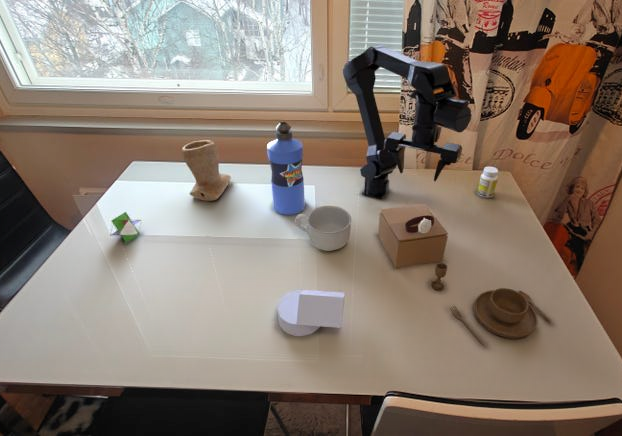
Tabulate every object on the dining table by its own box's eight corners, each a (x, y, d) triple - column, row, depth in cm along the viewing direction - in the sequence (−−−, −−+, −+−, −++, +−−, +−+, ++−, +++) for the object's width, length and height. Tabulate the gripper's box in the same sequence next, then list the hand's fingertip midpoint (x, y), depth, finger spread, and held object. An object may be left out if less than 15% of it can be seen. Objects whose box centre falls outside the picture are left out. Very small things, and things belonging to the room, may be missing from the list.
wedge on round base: (344, 304, 81) (283, 299, 82) (345, 280, 77) (281, 276, 78) (341, 339, 74) (274, 334, 75) (341, 315, 70) (271, 310, 71)
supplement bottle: (491, 190, 120) (497, 166, 115) (494, 198, 116) (501, 173, 111) (475, 189, 120) (481, 165, 116) (478, 197, 117) (484, 172, 112)
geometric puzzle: (100, 232, 98) (105, 216, 92) (123, 218, 103) (129, 202, 97) (122, 252, 98) (128, 237, 93) (143, 237, 103) (150, 222, 98)
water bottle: (311, 208, 111) (308, 125, 97) (282, 218, 107) (274, 133, 93) (295, 194, 118) (290, 114, 103) (267, 203, 113) (258, 121, 99)
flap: (380, 210, 96) (380, 209, 96) (424, 204, 98) (424, 203, 98) (388, 225, 91) (388, 224, 91) (435, 219, 94) (435, 217, 93)
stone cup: (200, 177, 126) (190, 133, 118) (235, 179, 125) (228, 135, 117) (179, 201, 114) (167, 155, 106) (218, 204, 113) (209, 157, 104)
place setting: (489, 355, 71) (496, 334, 68) (426, 284, 86) (430, 264, 83) (558, 325, 77) (568, 304, 73) (488, 263, 92) (494, 244, 88)
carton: (377, 235, 101) (380, 209, 96) (420, 229, 103) (424, 203, 98) (395, 268, 90) (398, 240, 86) (442, 260, 93) (448, 233, 88)
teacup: (356, 237, 100) (358, 211, 96) (339, 262, 92) (339, 235, 88) (309, 224, 105) (308, 198, 100) (289, 246, 97) (286, 220, 92)
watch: (412, 239, 86) (414, 226, 84) (399, 228, 89) (400, 215, 87) (438, 228, 89) (440, 215, 87) (424, 218, 93) (426, 206, 91)
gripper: (472, 115, 96) (460, 172, 105) (401, 104, 103) (395, 157, 112) (462, 131, 88) (450, 190, 96) (385, 117, 95) (380, 173, 104)
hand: (418, 176), depth 102 cm, fingers open, 9 cm apart
